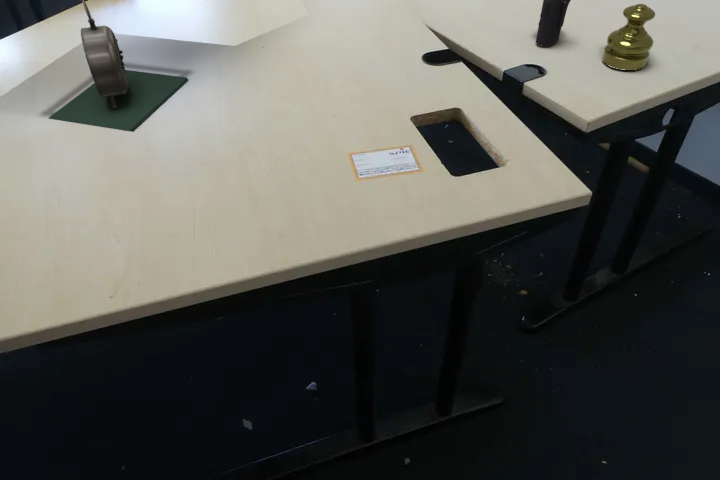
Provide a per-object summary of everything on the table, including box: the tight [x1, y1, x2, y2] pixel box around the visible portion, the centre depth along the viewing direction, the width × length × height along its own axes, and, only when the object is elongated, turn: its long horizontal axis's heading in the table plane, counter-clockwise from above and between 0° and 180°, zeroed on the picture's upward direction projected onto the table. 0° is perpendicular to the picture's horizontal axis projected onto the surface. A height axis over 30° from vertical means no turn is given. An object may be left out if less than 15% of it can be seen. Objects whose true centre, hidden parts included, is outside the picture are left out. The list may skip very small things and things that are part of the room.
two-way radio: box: [535, 0, 572, 47], centre depth 97 cm, size 6×4×15 cm
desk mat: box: [48, 69, 189, 133], centre depth 93 cm, size 16×18×1 cm
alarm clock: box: [80, 0, 134, 109], centre depth 87 cm, size 11×5×16 cm, turn 21°
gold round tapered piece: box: [601, 3, 656, 71], centre depth 92 cm, size 7×7×10 cm
